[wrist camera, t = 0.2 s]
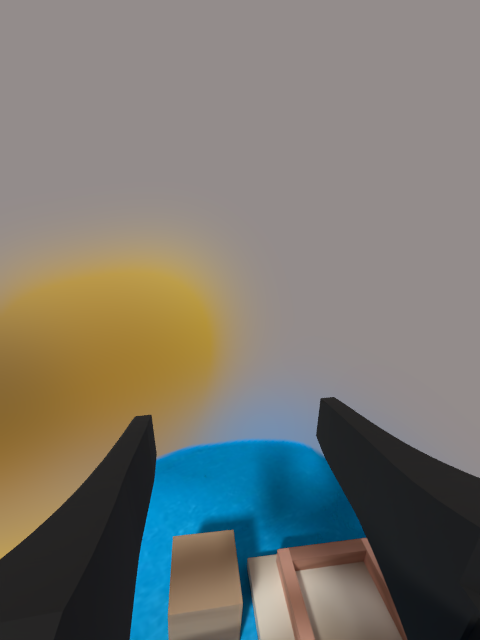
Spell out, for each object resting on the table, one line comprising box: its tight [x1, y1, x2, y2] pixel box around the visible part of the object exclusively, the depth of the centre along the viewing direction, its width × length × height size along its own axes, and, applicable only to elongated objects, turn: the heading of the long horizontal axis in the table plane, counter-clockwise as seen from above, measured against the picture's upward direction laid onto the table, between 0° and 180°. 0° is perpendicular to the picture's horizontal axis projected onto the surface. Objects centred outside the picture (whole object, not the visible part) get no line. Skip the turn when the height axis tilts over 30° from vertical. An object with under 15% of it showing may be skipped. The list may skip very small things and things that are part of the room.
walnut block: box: [168, 530, 243, 640], centre depth 22 cm, size 5×5×5 cm
